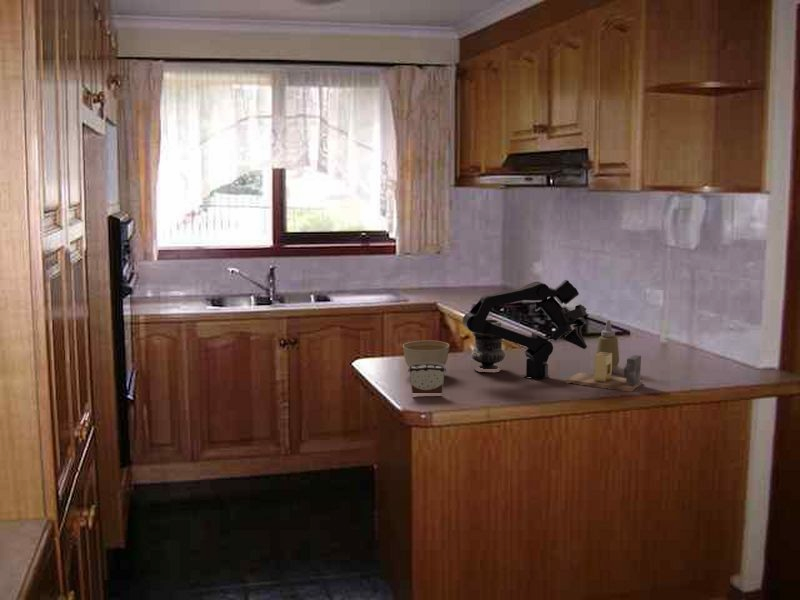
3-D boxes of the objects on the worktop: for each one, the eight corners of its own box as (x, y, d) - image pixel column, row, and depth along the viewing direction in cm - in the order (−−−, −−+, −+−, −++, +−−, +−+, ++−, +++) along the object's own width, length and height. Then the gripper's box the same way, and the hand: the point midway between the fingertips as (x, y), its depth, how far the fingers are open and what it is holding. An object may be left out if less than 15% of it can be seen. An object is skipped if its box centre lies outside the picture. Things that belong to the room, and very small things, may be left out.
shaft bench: (566, 383, 289) (566, 353, 287) (578, 375, 299) (579, 347, 297) (631, 391, 277) (632, 361, 276) (642, 383, 287) (643, 354, 286)
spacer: (593, 380, 287) (594, 355, 285) (599, 376, 292) (600, 351, 290) (605, 381, 285) (606, 356, 283) (611, 378, 290) (612, 352, 288)
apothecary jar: (503, 374, 301) (503, 324, 299) (469, 373, 304) (469, 323, 301) (506, 367, 313) (506, 318, 310) (473, 365, 316) (473, 317, 313)
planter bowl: (397, 372, 306) (396, 342, 305) (439, 368, 311) (439, 339, 310) (411, 382, 291) (411, 351, 290) (456, 379, 296) (456, 347, 294)
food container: (445, 391, 279) (445, 361, 278) (446, 396, 273) (446, 365, 272) (406, 392, 279) (406, 362, 277) (407, 397, 273) (407, 366, 271)
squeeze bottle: (602, 374, 301) (603, 323, 298) (591, 369, 309) (592, 319, 306) (623, 372, 303) (624, 322, 300) (611, 367, 311) (613, 318, 308)
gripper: (561, 301, 282) (593, 337, 278) (582, 294, 298) (612, 328, 294) (538, 322, 288) (569, 358, 283) (559, 314, 303) (588, 349, 299)
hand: (585, 348), depth 290 cm, fingers closed
